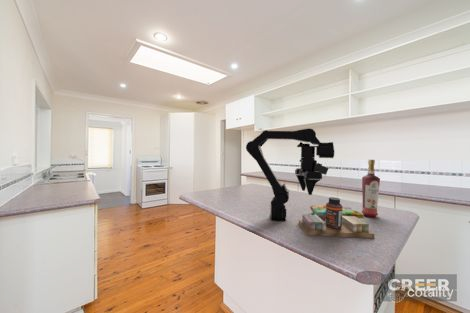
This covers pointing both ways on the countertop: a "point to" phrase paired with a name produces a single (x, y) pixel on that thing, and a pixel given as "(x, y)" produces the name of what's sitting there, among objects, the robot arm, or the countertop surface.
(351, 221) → the book rack
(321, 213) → the puzzle game
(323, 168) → the robot arm
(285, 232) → the countertop surface
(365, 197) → the liquor
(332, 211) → the supplement bottle
